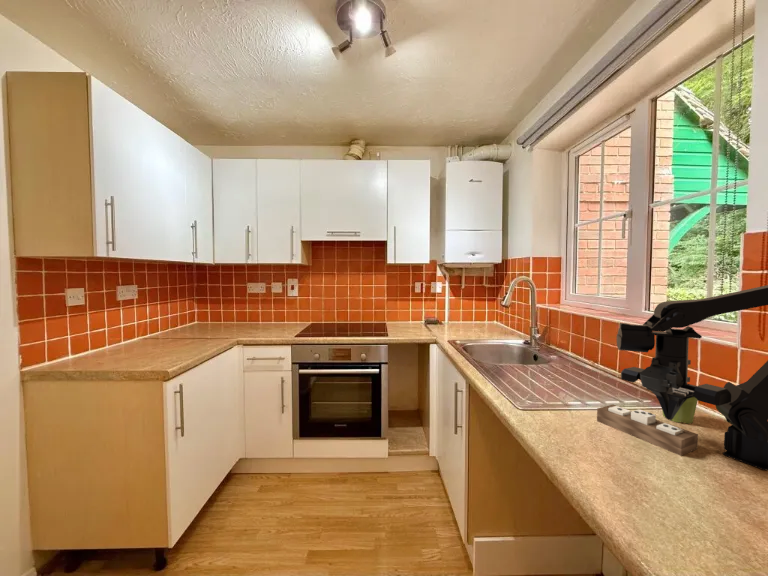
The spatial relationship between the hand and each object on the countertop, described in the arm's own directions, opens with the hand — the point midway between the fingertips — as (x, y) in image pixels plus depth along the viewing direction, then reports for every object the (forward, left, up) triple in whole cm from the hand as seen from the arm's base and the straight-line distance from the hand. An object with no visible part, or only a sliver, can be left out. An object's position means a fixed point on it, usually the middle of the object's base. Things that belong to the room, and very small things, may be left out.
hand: (669, 419), depth 74 cm
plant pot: (+6, -19, -6) cm, 21 cm away
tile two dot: (0, 0, -4) cm, 4 cm away
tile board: (+5, 0, -6) cm, 8 cm away
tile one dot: (+11, 0, -4) cm, 12 cm away
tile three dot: (+5, 0, -3) cm, 6 cm away
